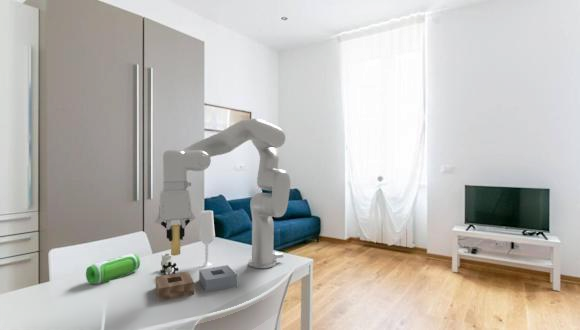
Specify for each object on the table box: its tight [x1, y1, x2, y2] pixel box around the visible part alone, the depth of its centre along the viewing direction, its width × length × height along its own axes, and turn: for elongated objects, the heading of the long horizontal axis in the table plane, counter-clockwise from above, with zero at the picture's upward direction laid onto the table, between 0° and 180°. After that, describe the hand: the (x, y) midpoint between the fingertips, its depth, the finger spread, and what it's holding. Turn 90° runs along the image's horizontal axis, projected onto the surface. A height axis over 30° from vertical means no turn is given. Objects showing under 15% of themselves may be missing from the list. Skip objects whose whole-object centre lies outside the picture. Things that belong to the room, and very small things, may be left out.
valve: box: [160, 253, 179, 275], centre depth 124 cm, size 7×7×12 cm
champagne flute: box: [198, 209, 216, 267], centre depth 132 cm, size 7×7×24 cm
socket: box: [198, 264, 238, 293], centre depth 113 cm, size 11×11×5 cm
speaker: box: [85, 253, 141, 285], centre depth 120 cm, size 18×7×8 cm, turn 150°
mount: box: [155, 271, 195, 302], centre depth 106 cm, size 11×11×5 cm
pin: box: [170, 223, 181, 256], centre depth 106 cm, size 3×3×10 cm
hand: (175, 239), depth 106 cm, fingers closed on pin, 3 cm apart
